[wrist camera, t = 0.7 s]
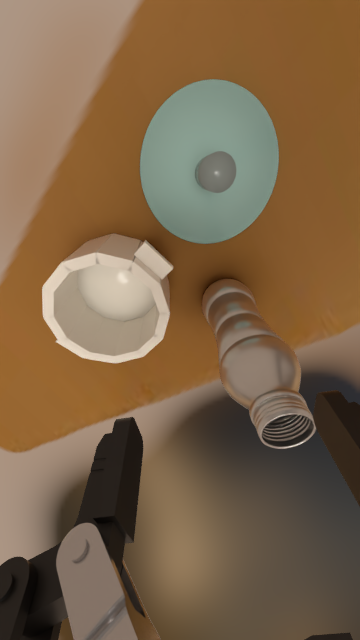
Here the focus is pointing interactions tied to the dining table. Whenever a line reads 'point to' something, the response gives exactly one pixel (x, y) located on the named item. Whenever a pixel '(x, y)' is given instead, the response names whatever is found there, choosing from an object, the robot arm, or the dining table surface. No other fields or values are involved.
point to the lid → (209, 161)
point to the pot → (109, 299)
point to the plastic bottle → (257, 366)
